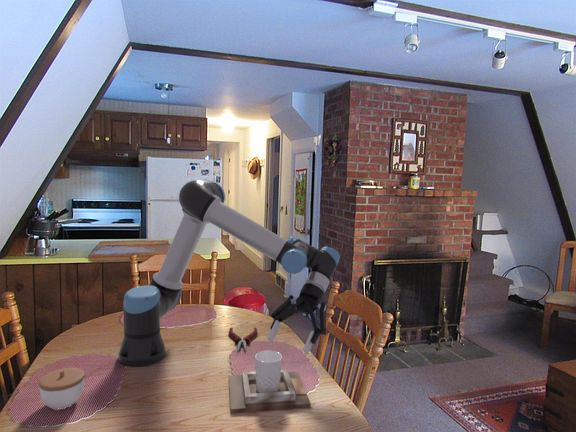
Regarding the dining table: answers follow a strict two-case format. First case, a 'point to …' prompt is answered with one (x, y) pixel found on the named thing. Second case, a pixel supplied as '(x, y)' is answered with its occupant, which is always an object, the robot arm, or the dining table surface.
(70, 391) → the lidded jar
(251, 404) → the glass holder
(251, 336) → the pliers
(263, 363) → the white cup
